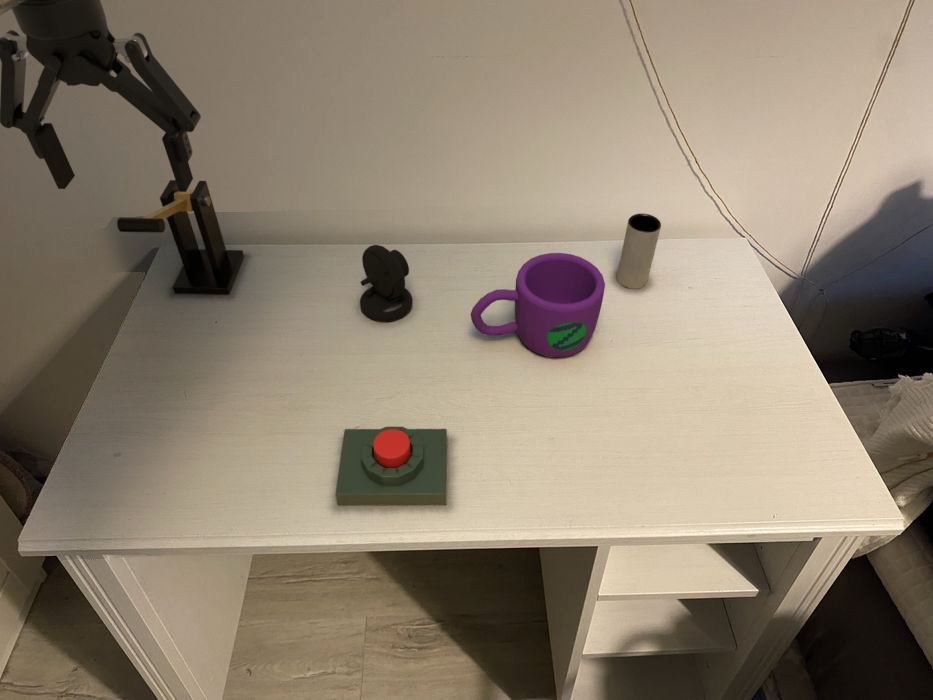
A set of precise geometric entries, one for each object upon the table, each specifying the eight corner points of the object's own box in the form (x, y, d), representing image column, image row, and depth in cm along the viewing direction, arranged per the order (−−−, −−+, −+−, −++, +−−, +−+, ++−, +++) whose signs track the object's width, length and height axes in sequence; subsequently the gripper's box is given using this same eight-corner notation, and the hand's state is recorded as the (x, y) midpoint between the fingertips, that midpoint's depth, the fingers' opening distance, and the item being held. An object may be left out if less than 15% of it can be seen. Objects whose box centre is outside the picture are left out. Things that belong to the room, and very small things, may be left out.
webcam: (424, 306, 102) (421, 251, 94) (383, 331, 98) (377, 275, 91) (389, 281, 106) (385, 225, 98) (349, 303, 102) (341, 247, 95)
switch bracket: (229, 294, 103) (203, 209, 92) (174, 293, 103) (142, 207, 93) (244, 256, 109) (221, 171, 99) (192, 254, 109) (164, 170, 99)
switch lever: (160, 237, 84) (157, 217, 83) (118, 236, 84) (115, 216, 83) (209, 207, 99) (207, 190, 98) (173, 206, 99) (171, 189, 98)
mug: (581, 302, 103) (590, 246, 95) (606, 358, 95) (618, 302, 88) (462, 316, 100) (463, 260, 93) (478, 375, 92) (479, 319, 85)
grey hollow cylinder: (613, 270, 108) (624, 214, 100) (642, 268, 108) (655, 212, 101) (621, 290, 105) (633, 233, 97) (650, 288, 105) (665, 231, 98)
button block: (337, 505, 79) (333, 485, 76) (346, 440, 85) (342, 419, 82) (446, 505, 79) (445, 484, 76) (447, 440, 85) (446, 419, 82)
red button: (373, 467, 78) (371, 458, 77) (376, 438, 81) (374, 429, 79) (409, 467, 78) (408, 458, 77) (411, 438, 81) (410, 428, 79)
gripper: (196, -29, 67) (244, 168, 83) (-64, -34, 68) (32, 163, 83) (171, 1, 62) (227, 205, 77) (-111, -5, 63) (0, 200, 78)
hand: (126, 184), depth 80 cm, fingers open, 13 cm apart
